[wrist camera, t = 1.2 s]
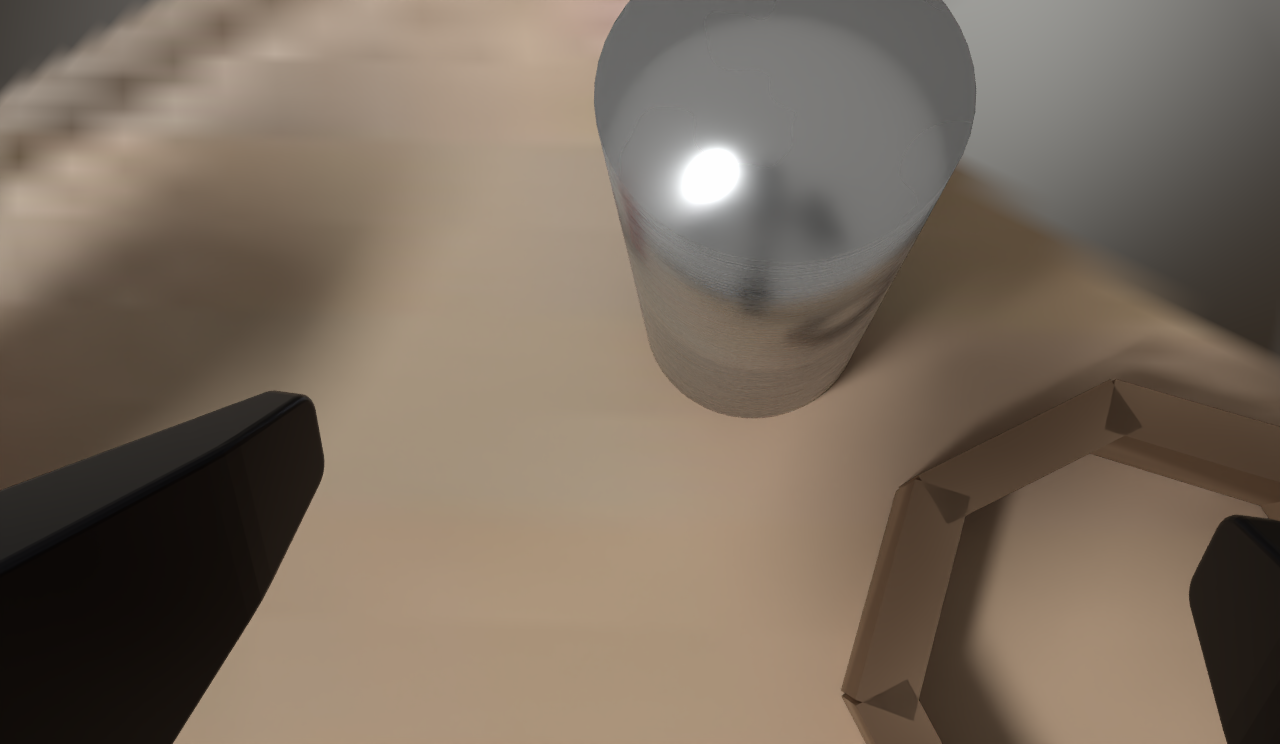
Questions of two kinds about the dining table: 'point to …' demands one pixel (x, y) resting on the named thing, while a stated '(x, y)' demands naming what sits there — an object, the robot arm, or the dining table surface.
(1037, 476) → the bore ring
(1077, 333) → the dining table surface
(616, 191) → the metal tumbler
